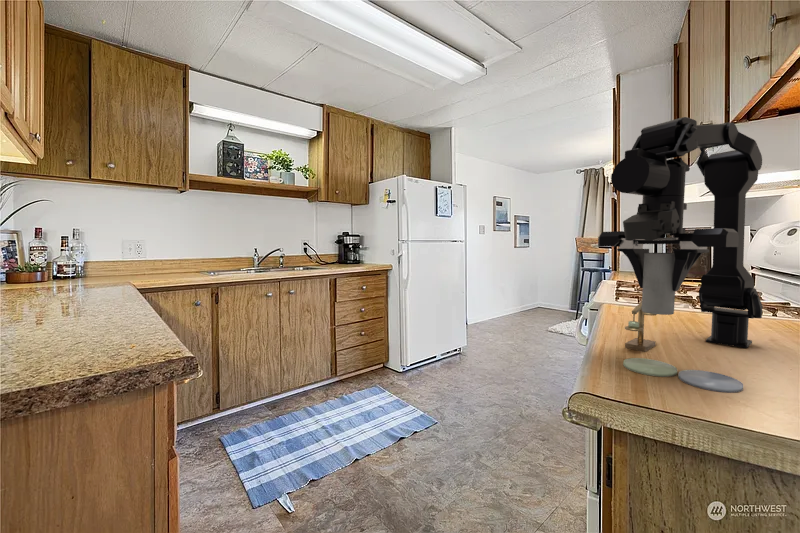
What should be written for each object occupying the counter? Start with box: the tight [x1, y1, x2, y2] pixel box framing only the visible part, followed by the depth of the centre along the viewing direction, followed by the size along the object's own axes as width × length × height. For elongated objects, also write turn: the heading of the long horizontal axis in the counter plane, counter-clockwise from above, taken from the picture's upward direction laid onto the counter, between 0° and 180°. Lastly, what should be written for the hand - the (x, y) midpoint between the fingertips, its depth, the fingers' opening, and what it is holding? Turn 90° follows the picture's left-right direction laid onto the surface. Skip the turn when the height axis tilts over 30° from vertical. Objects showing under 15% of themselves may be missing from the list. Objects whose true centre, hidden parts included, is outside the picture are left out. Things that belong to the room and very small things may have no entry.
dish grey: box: [677, 369, 744, 394], centre depth 56 cm, size 8×8×1 cm
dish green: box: [623, 357, 678, 378], centre depth 62 cm, size 8×8×1 cm
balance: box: [624, 301, 658, 353], centre depth 74 cm, size 11×4×10 cm, turn 128°
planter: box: [641, 252, 676, 316], centre depth 61 cm, size 4×4×10 cm
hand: (658, 289), depth 62 cm, fingers closed on planter, 4 cm apart
